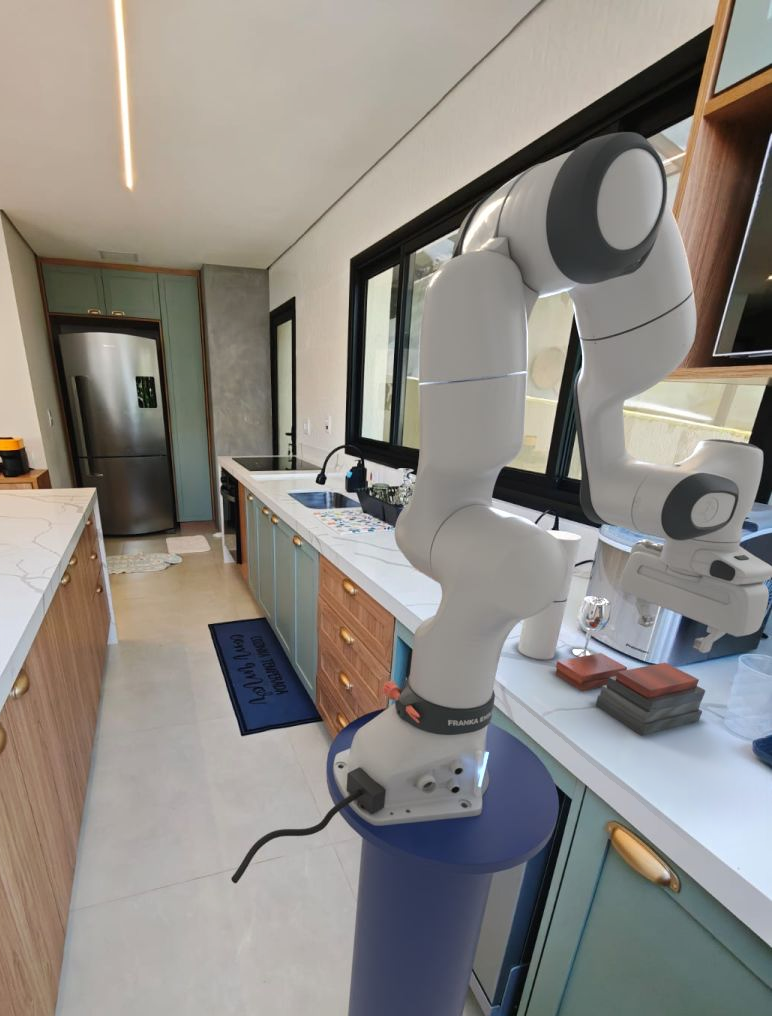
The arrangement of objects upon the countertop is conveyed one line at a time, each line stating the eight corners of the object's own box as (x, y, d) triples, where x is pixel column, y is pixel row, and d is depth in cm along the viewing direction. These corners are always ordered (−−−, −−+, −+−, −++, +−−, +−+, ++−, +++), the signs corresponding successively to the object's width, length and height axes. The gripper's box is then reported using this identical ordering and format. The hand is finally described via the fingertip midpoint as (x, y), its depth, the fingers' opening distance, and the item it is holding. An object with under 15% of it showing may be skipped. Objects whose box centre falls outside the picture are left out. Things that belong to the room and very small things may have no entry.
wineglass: (581, 645, 109) (594, 593, 104) (605, 657, 104) (620, 603, 99) (562, 650, 106) (575, 597, 102) (586, 662, 101) (600, 607, 97)
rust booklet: (647, 698, 79) (650, 690, 78) (615, 679, 84) (617, 671, 83) (696, 687, 82) (699, 679, 82) (662, 669, 88) (664, 662, 87)
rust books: (579, 691, 91) (583, 677, 90) (553, 674, 97) (556, 660, 96) (624, 682, 95) (628, 668, 94) (597, 666, 100) (600, 652, 99)
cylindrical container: (531, 660, 101) (556, 540, 92) (511, 644, 108) (533, 530, 98) (561, 657, 103) (590, 539, 94) (540, 642, 109) (564, 529, 100)
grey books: (641, 736, 79) (651, 704, 77) (595, 705, 87) (603, 675, 85) (698, 721, 84) (710, 691, 81) (649, 693, 91) (658, 664, 89)
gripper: (621, 537, 83) (602, 614, 88) (757, 577, 65) (723, 670, 70) (649, 535, 85) (629, 610, 90) (788, 572, 67) (753, 663, 72)
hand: (671, 637), depth 80 cm, fingers open, 8 cm apart
